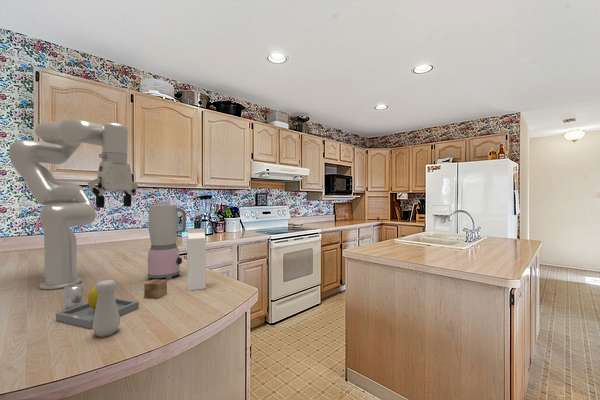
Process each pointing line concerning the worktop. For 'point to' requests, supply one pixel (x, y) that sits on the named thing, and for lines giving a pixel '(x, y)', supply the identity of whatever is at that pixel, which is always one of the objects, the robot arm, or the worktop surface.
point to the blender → (164, 240)
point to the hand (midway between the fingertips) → (114, 207)
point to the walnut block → (155, 289)
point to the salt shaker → (106, 309)
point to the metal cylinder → (73, 296)
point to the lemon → (92, 298)
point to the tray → (92, 313)
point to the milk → (196, 259)
